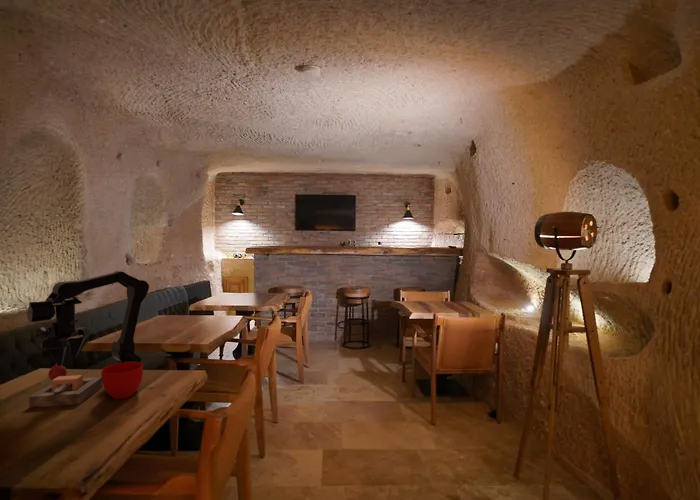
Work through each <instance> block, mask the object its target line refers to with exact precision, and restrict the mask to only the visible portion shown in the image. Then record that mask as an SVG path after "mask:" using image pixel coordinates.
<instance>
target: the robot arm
mask: <svg viewBox="0 0 700 500" xmlns="http://www.w3.org/2000/svg"><path fill="white" fill-rule="evenodd" d="M116 283H119V284H120V285H121V286H122V287H125V288H126V298H127V306H126V310H125V315H124V319H123V323H122V328H121V332H120V336H119V338H118V340H117V341H113V342H112V346H111V350H110V353H111V357H112V358H113V359H114V360H116V362H117V363H123V362H140V363H142V358H141V357H140V356H138V355H137V354H136V344H135V340H134V338H135V333H136V330H137V329H136V328H137V324H138V318H139V313H140V309H141V304H142V302H143V301H144V300H145V298H146V297H147V294H148V292H149V289H150V285H149V283H148V282H147V281H146V280H144V279H138V278H136V277H134V276H133V275H132V276H131V275H129V274H128V273H126V272H125V271H122V270H121V271H120V270H117V271H114V272H111V273H107V274H102V275H98V276H94V277H90V278H86V279H80V280H69V281H68V280H67V281H59V282H57V283H55V284H54V285H53V287H52V292H50V294H49V295H48V296H47V298H45V300H44V301H43V300H42V301H30V302H29V303H28V307H27V311H26V318H27V321H28V322H29V323H30V324H31V323H38V322H46V321H51V320H52V319H53V318H54V317H55V321H53V322H51V326H50V327H48V328H45V327H44V326H43V327H39V328H37V329H35V333H34V336H35V338H37V339H39V341H41V342H40V348H41V349H42V350H44V351H48V352H49V353H51V355H52V357H53V360H54V362H55V364H56V363H57V366H61V365H62V366H63V362H64V359H65V356H66V352H67V349H68V345H67V343H69V347H70V352H71V357H72V358H73V359H75V358H77V356H78V355H79V352H80V351H81V348H82V346H83V344H84V342H85V341H86V338H87V336H89V335H90V334H89V332H90V331H89V329H88V328H87V327H86V326H85V327H76V323H78V322H79V318H76V305H78V304H82V303H83V301H82V300H80V299H78V296H80V295H83V293H85V292H87V291H90V290H93V289H94V290H95V289H98V288H102V287H106V286H108V285H109V286H110V285H113V284H116Z"/></svg>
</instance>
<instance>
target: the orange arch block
mask: <svg viewBox="0 0 700 500" xmlns="http://www.w3.org/2000/svg"><path fill="white" fill-rule="evenodd" d="M83 378H84V375H83V374H77V375H66V376H58V377H57V378H55V379H53V380H51V383H52V392H53V391H54V390H55V389H57V388H58V387H60V386H61V385H63V384H72V391H77V390H78V389H79V388H81V387H82V386H83ZM61 392H64V390H62V391H61Z"/></svg>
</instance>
